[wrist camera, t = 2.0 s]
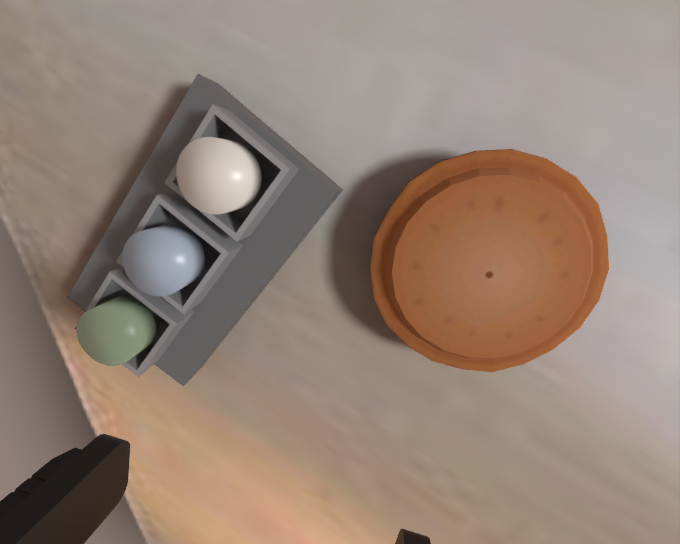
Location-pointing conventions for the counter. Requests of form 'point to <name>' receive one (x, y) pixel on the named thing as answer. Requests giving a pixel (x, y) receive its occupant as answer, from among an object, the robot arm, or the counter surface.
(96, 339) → the green button
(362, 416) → the counter surface
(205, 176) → the white button
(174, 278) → the bluegrey button
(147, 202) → the button panel
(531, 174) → the pie
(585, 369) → the counter surface
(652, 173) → the counter surface
